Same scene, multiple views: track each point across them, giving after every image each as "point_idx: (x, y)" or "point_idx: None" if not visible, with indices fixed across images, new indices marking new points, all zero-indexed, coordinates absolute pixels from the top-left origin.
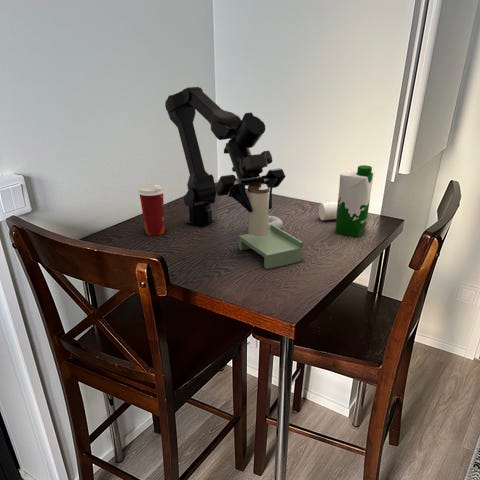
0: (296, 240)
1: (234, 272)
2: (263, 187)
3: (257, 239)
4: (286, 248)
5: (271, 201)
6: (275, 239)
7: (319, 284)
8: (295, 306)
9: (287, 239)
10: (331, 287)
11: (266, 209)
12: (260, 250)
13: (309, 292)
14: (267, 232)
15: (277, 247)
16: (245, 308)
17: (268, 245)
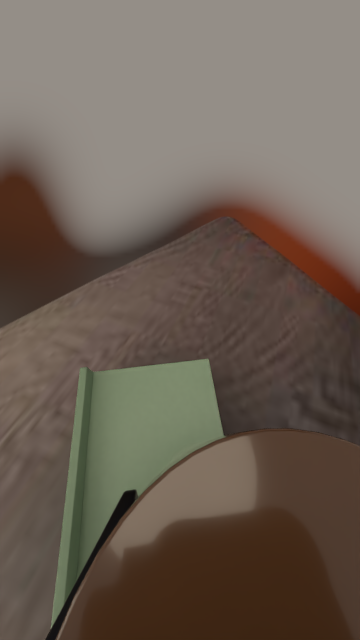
0: (85, 396)
1: (286, 383)
2: (246, 613)
3: None
4: (134, 383)
5: (100, 544)
6: (124, 486)
7: (136, 279)
8: (208, 240)
9: (85, 461)
10: (124, 265)
11: (186, 449)
12: (216, 399)
13: (168, 263)
14: (171, 456)
15: (155, 402)
16: (283, 255)
17: (176, 431)
